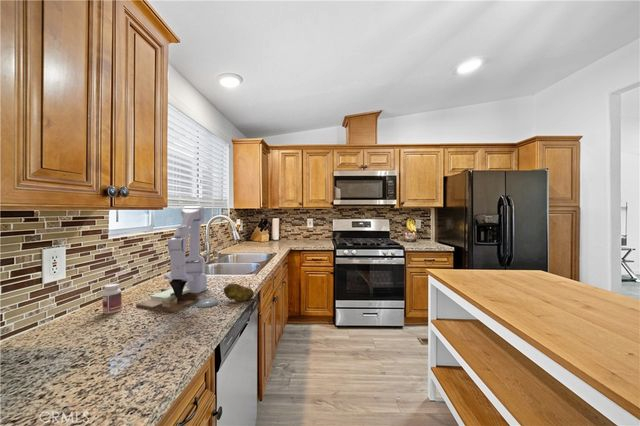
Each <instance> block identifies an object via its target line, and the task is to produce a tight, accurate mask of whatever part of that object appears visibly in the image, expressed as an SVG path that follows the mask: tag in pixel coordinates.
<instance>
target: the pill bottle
mask: <svg viewBox="0 0 640 426" xmlns="http://www.w3.org/2000/svg"><path fill="white" fill-rule="evenodd" d="M104 290H105V291H103V292H102V312H103V314H105V315H108V314H115V313H119V312H120V311H121V310H122V307H123V306H122V305H123V304H122V303H123V302H122V300H123V299H122V289H120V284H119V283H110V284H106V285H104Z"/></svg>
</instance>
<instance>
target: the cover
mask: <svg viewBox="0 0 640 426" xmlns="http://www.w3.org/2000/svg"><path fill="white" fill-rule="evenodd" d="M168 289H169V290H166V291H163V292H161V291H160V292H158V293H155V294H152V295H150V297H149V298H150V299H157V300H164V301H167V300H170V299H172V298H175V293H174V291H173V288H172V287H171V288H168ZM188 292H190V289H187V288H184V289H183V292H182V295H183V294H185V293H188ZM150 299H149V300H150Z"/></svg>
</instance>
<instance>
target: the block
mask: <svg viewBox="0 0 640 426" xmlns="http://www.w3.org/2000/svg"><path fill="white" fill-rule="evenodd" d="M176 304H177V297H175V298H172V299H170V300H167V301H164V300H162V307H171V306H174V305H176Z"/></svg>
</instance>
